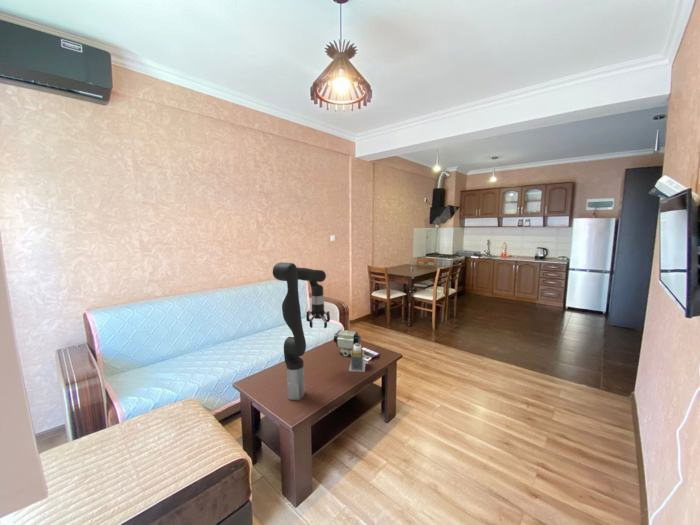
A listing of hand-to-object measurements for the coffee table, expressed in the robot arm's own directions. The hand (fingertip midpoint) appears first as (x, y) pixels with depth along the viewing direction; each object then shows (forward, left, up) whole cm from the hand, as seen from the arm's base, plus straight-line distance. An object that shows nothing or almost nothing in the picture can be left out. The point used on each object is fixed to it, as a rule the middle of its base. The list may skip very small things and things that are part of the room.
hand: (318, 327), depth 182 cm
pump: (+10, -23, -21) cm, 33 cm away
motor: (+10, -23, -30) cm, 39 cm away
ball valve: (+27, -14, -30) cm, 43 cm away
